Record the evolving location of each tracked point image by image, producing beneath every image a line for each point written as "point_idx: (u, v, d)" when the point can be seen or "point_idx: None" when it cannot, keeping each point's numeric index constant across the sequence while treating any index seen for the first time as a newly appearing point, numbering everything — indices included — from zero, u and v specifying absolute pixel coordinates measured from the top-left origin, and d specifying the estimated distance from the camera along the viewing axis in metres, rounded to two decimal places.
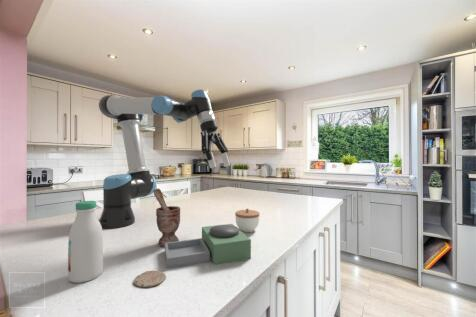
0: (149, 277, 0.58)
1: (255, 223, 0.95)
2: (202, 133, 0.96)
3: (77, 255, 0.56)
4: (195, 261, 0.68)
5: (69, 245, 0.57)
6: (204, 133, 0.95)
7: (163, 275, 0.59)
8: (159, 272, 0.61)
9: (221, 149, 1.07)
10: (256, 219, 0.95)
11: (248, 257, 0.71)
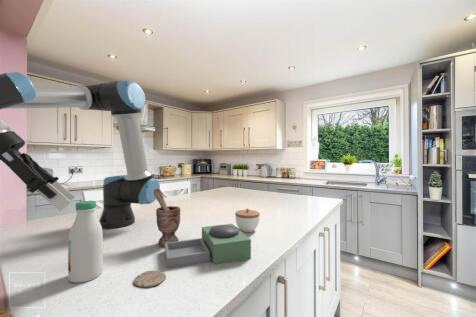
0: (149, 277, 0.58)
1: (255, 223, 0.95)
2: None
3: (77, 255, 0.56)
4: (195, 261, 0.68)
5: (69, 245, 0.57)
6: None
7: (163, 275, 0.59)
8: (159, 272, 0.61)
9: None
10: (256, 219, 0.95)
11: (248, 257, 0.71)
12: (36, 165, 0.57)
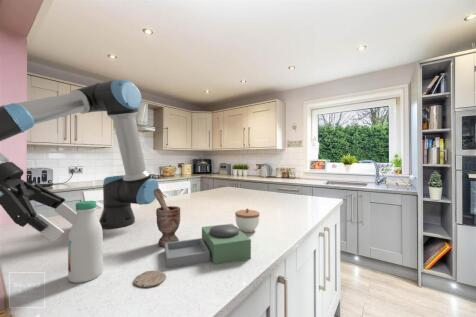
0: (149, 277, 0.58)
1: (255, 223, 0.95)
2: None
3: (77, 255, 0.56)
4: (195, 261, 0.68)
5: (69, 245, 0.57)
6: None
7: (163, 275, 0.59)
8: (159, 272, 0.61)
9: None
10: (256, 219, 0.95)
11: (248, 257, 0.71)
12: (38, 191, 0.58)
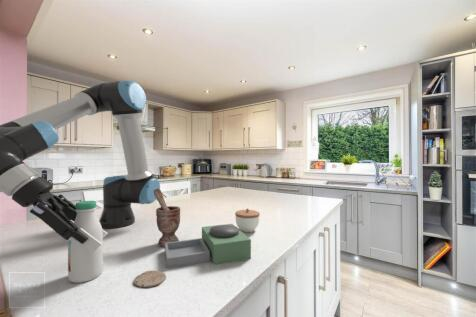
0: (149, 277, 0.58)
1: (255, 223, 0.95)
2: None
3: (77, 255, 0.56)
4: (195, 261, 0.68)
5: (69, 245, 0.57)
6: None
7: (163, 275, 0.59)
8: (159, 272, 0.61)
9: None
10: (256, 219, 0.95)
11: (248, 257, 0.71)
12: (65, 205, 0.60)
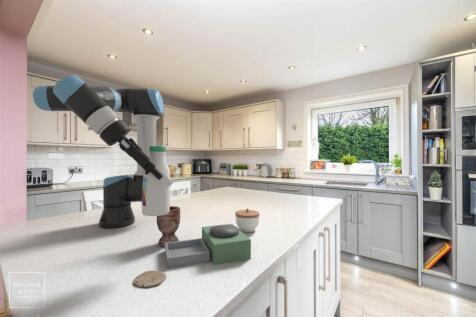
0: (149, 277, 0.58)
1: (255, 223, 0.95)
2: None
3: (152, 191, 0.62)
4: (195, 261, 0.68)
5: (144, 182, 0.63)
6: None
7: (163, 275, 0.60)
8: (159, 272, 0.61)
9: None
10: (256, 219, 0.95)
11: (248, 257, 0.71)
12: (139, 149, 0.66)
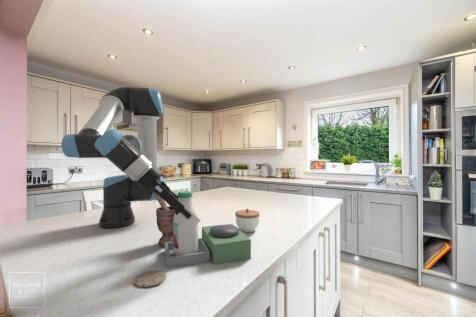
0: (149, 277, 0.58)
1: (255, 223, 0.95)
2: None
3: (184, 235, 0.69)
4: (195, 261, 0.68)
5: (176, 227, 0.69)
6: None
7: (163, 275, 0.60)
8: (159, 272, 0.61)
9: None
10: (256, 219, 0.95)
11: (248, 257, 0.71)
12: (168, 188, 0.73)
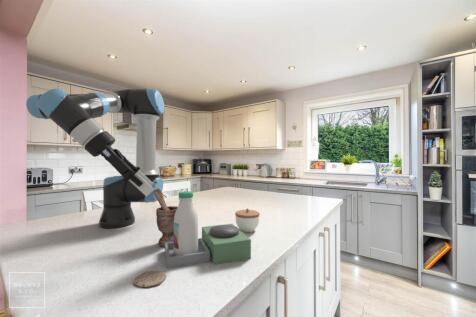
0: (149, 277, 0.58)
1: (255, 223, 0.95)
2: None
3: (184, 235, 0.69)
4: (195, 261, 0.68)
5: (176, 227, 0.69)
6: None
7: (163, 274, 0.60)
8: (158, 272, 0.61)
9: None
10: (256, 219, 0.95)
11: (248, 257, 0.71)
12: (124, 158, 0.69)
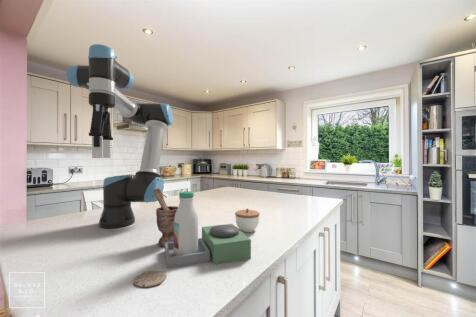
0: (149, 277, 0.58)
1: (255, 223, 0.95)
2: None
3: (184, 235, 0.69)
4: (195, 261, 0.68)
5: (177, 227, 0.69)
6: None
7: (163, 274, 0.60)
8: (158, 272, 0.61)
9: None
10: (256, 219, 0.95)
11: (248, 257, 0.71)
12: (108, 123, 0.77)
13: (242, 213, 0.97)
